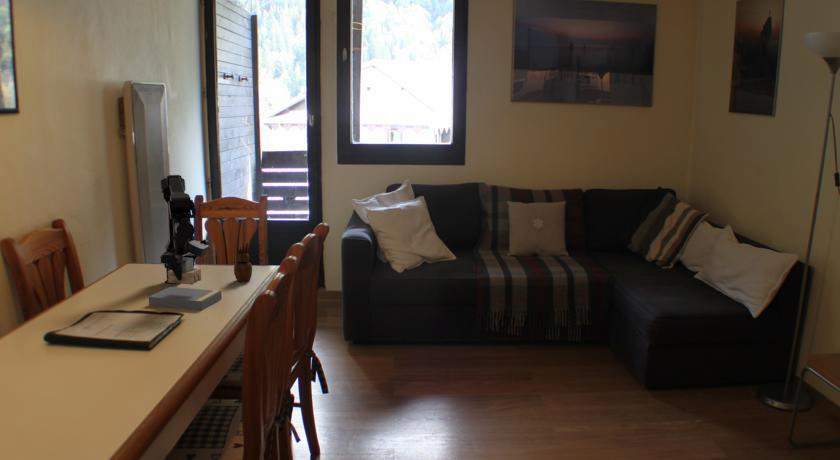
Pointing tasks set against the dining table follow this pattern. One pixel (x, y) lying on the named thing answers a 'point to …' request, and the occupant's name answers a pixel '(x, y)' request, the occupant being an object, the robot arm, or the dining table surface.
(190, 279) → the pallet
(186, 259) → the grey cube
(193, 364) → the dining table surface
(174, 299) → the dock
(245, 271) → the brown vase with sticks
